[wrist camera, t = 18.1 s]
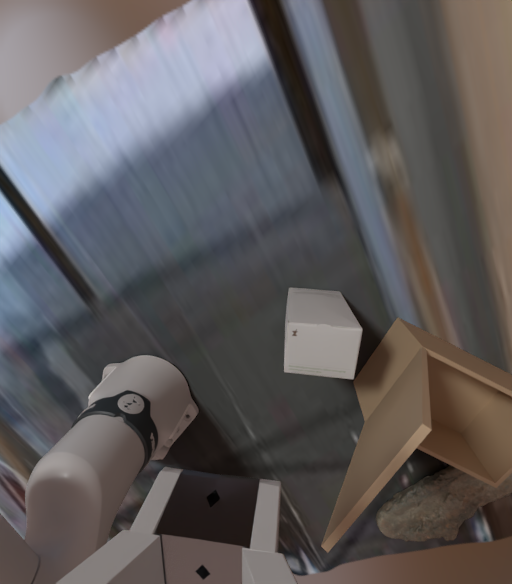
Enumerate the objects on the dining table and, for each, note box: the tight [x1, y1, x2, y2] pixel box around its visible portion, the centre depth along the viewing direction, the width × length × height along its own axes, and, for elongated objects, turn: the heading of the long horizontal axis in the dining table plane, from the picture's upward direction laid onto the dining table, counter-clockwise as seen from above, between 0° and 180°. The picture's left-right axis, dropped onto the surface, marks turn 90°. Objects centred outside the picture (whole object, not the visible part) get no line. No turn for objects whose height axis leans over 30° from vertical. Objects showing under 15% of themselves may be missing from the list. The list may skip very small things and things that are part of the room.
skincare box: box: [284, 288, 363, 379], centre depth 42 cm, size 8×7×16 cm
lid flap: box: [321, 347, 432, 552], centre depth 31 cm, size 13×20×1 cm
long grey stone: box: [376, 465, 512, 542], centre depth 52 cm, size 35×5×10 cm
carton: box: [353, 318, 512, 488], centre depth 45 cm, size 13×20×10 cm, turn 64°
